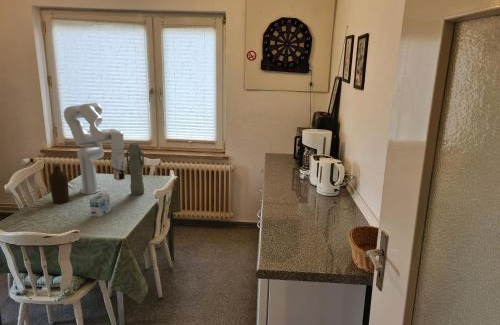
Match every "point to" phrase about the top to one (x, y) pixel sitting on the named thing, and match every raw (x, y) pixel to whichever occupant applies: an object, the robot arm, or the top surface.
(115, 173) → the beech block
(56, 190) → the olive oil
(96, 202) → the light bulb box
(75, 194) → the top surface
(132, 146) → the thermos
